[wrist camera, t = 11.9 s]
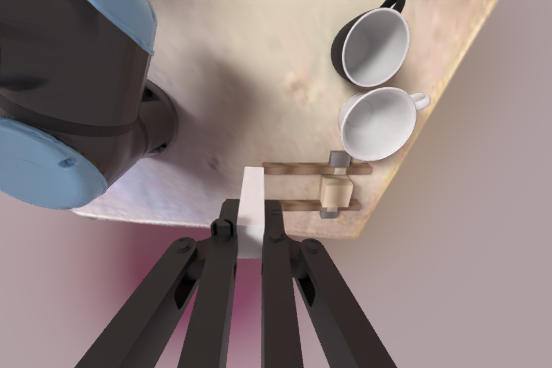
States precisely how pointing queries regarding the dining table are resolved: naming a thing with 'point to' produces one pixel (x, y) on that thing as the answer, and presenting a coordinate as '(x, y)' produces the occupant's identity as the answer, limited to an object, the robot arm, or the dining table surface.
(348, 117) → the teacup
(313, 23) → the dining table surface
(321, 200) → the block
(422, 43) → the dining table surface
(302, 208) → the beam slot
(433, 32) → the dining table surface
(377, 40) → the mug
